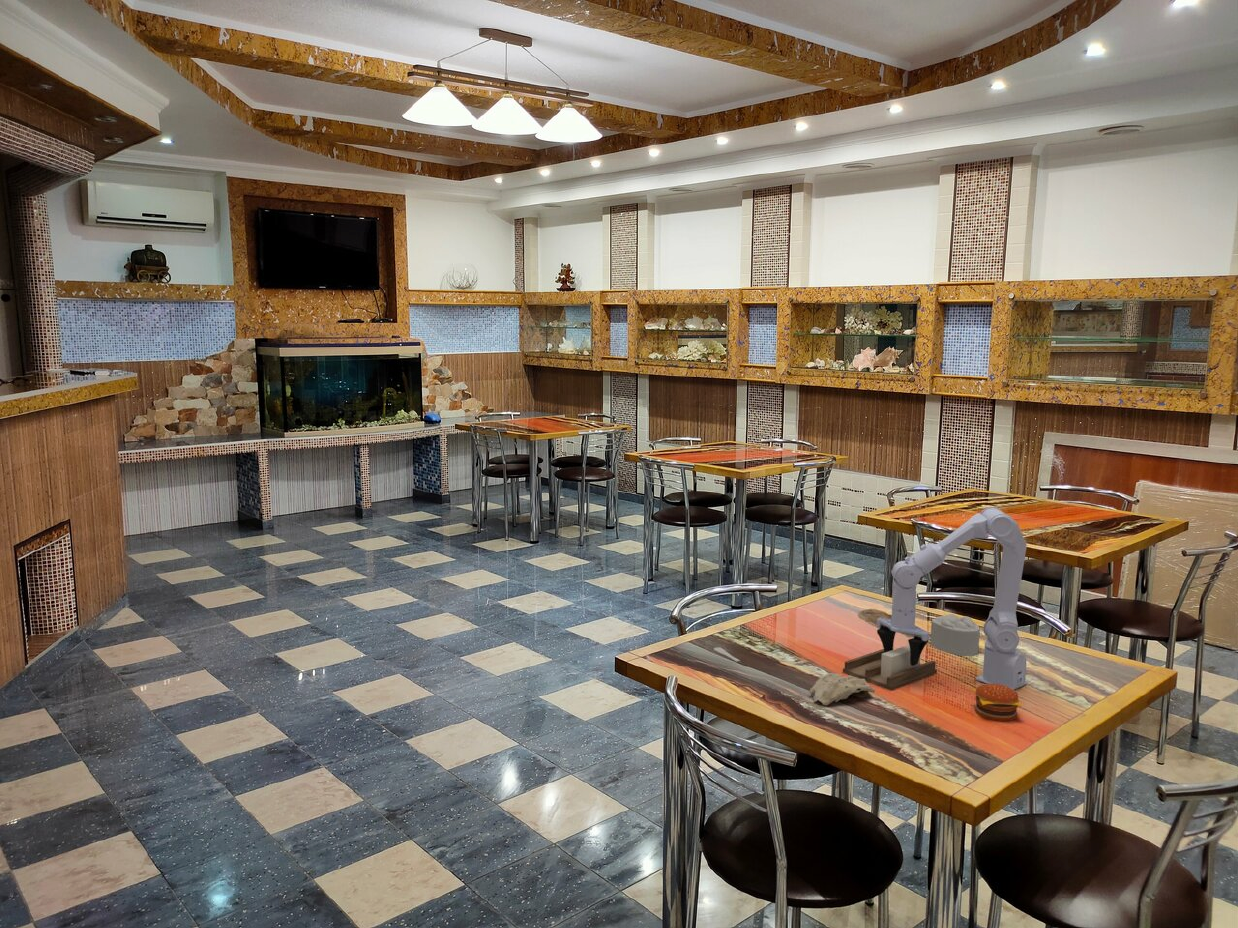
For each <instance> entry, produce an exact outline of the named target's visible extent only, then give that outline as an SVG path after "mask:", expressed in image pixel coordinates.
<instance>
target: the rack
mask: <svg viewBox="0 0 1238 928" xmlns="http://www.w3.org/2000/svg"><path fill="white" fill-rule="evenodd" d="M883 653H885V652H884V648H882V649H879V650H875V651H873V652H870V653H866V654H864V655H861V656H858V657H855V658H852V659H849V660H846V661H844V668H842V673H844V674H846V675H848V676H852V677H858V679H865V681H866V682H867V683H870V684H871V685H876V686H878V687H881V688H883V689H885V690H889V691H895V690H897V689H899V688H902V687H904V686H907V685H910V684H912V683H915V682H918V681H921V680H923V679H926V678H928V677H931V676H933V675H936V674H938V669H936V662H937V661H934V660H930V661H928V662H925V663H920V665H919V666H916V667H913V668H911V669H908V670H905V671H902V672H900V673H897V674H894V675H891V676H889V677H887V679H886V678H883V677H881V659H882V654H883Z"/></svg>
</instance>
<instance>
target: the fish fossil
mask: <svg viewBox="0 0 1238 928" xmlns="http://www.w3.org/2000/svg"><path fill="white" fill-rule="evenodd" d="M857 616H858V617H857V618H859V619H860V620H863V621H864V622H865V623H867V624H870V625H871V626H872V627H875V628H876V629H880V627H878V626H877V619H879V618H885V619H890V620H891V619H892V614H889V613H888V612H886V611H883V610H879V609H876V608H866V609H865V610H864V609H863V610H860V611H859V612H858V613H857ZM896 634H901V635H902V636H905V637H906V638H909V639H912V638H914V637H913V636H910V635H907V634H904V633H900V632H896Z"/></svg>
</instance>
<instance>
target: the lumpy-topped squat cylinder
mask: <svg viewBox="0 0 1238 928" xmlns="http://www.w3.org/2000/svg"><path fill="white" fill-rule="evenodd" d="M980 629H981V628H980V626H979V625H978V624H977V623H976V622H974V620H973V619H972V618H971V617H969V616H966V615H964V616H962V617H959V616H957V615H955V614H952V613H950V614H946V615H940V616H939V615H938V617H936V618H932V619H931V627H930V643H929V644H930V646H931V647H933V648H935V649H937V650H939V651H941V652H943V653H947V654H951V655H956V656H961V657H962V656H963V657H975V656H978V655H979V650H980V649H979V648H980V633H981V631H980Z"/></svg>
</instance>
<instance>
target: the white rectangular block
mask: <svg viewBox="0 0 1238 928" xmlns="http://www.w3.org/2000/svg"><path fill="white" fill-rule="evenodd" d="M920 664H921V657H920V658H919V661H918V664H917V665H914V666H912V665H911V664H910V646H909V644H907V645H904V646H901V647H899V648H894V649H893V650H892V651H889V652H886V653H883V654H882V659H881V677H883V678H886V679H887V677H889V676H891V675H894V674H897V673H900V672H902V671H905V670H908V669H911V668H913V667H916V666H919V665H920Z"/></svg>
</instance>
